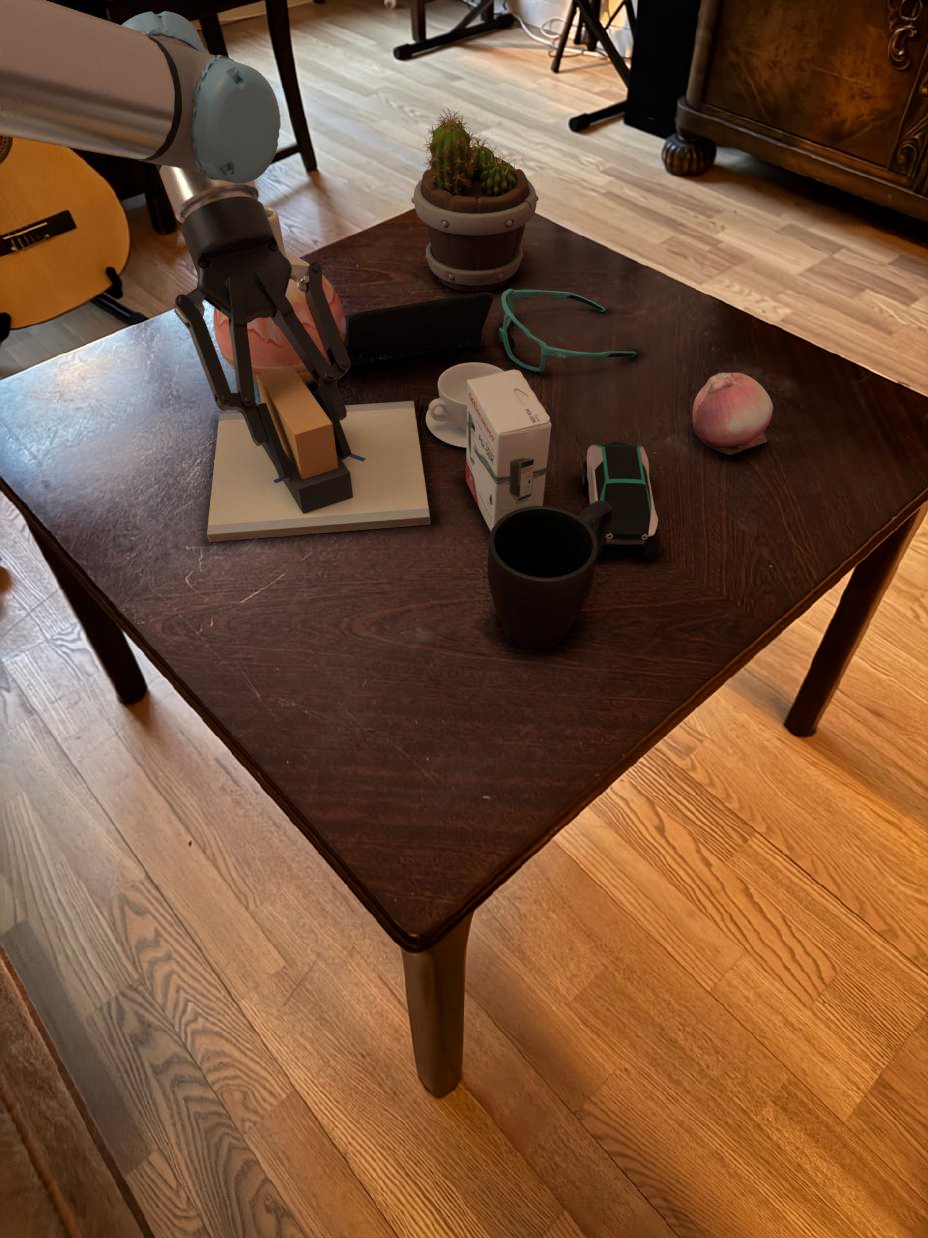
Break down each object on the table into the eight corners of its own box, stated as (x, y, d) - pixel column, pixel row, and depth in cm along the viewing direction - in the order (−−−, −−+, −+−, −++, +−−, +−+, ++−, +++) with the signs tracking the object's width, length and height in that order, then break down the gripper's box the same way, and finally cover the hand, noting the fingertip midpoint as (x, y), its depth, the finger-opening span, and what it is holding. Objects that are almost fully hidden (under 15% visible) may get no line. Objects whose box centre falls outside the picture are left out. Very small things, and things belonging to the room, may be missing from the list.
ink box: (463, 480, 84) (463, 374, 75) (510, 470, 85) (516, 365, 76) (492, 540, 79) (497, 433, 70) (543, 528, 80) (553, 422, 71)
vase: (218, 351, 99) (180, 191, 85) (336, 332, 101) (318, 174, 88) (235, 421, 90) (196, 256, 77) (363, 398, 93) (347, 234, 79)
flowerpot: (497, 236, 117) (503, 68, 102) (553, 288, 108) (568, 112, 93) (398, 258, 113) (388, 86, 98) (446, 314, 104) (444, 134, 89)
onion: (701, 408, 92) (716, 348, 86) (773, 430, 89) (793, 369, 84) (675, 450, 87) (690, 389, 82) (751, 474, 85) (771, 412, 79)
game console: (459, 307, 105) (459, 233, 98) (494, 368, 96) (496, 292, 90) (333, 326, 102) (324, 251, 95) (356, 391, 94) (348, 314, 87)
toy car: (641, 476, 84) (650, 431, 80) (655, 564, 77) (666, 519, 73) (580, 475, 85) (586, 430, 80) (588, 563, 77) (595, 518, 73)
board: (209, 542, 78) (206, 533, 77) (221, 421, 90) (219, 413, 89) (430, 524, 80) (429, 516, 79) (413, 408, 92) (413, 400, 91)
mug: (635, 604, 73) (654, 521, 66) (535, 680, 68) (544, 598, 61) (564, 553, 77) (575, 469, 70) (464, 622, 72) (465, 538, 65)
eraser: (303, 514, 79) (290, 443, 73) (259, 441, 86) (244, 371, 80) (353, 497, 81) (345, 427, 75) (306, 427, 88) (295, 357, 82)
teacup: (492, 384, 94) (494, 345, 91) (539, 434, 89) (543, 395, 85) (409, 409, 91) (407, 370, 88) (453, 463, 86) (452, 423, 82)
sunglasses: (480, 318, 103) (485, 278, 100) (596, 313, 107) (605, 274, 103) (515, 384, 94) (522, 342, 91) (640, 377, 98) (651, 336, 94)
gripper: (309, 210, 82) (394, 445, 85) (118, 252, 77) (216, 503, 80) (324, 172, 75) (416, 429, 78) (115, 216, 70) (223, 492, 73)
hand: (315, 466), depth 79 cm, fingers closed on eraser, 5 cm apart
